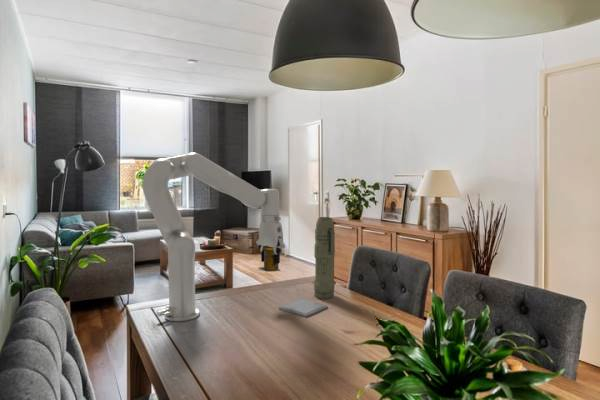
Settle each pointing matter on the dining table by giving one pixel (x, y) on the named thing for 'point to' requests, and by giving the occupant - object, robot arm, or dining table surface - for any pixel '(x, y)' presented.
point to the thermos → (324, 258)
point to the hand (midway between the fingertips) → (270, 262)
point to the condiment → (269, 261)
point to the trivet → (303, 307)
